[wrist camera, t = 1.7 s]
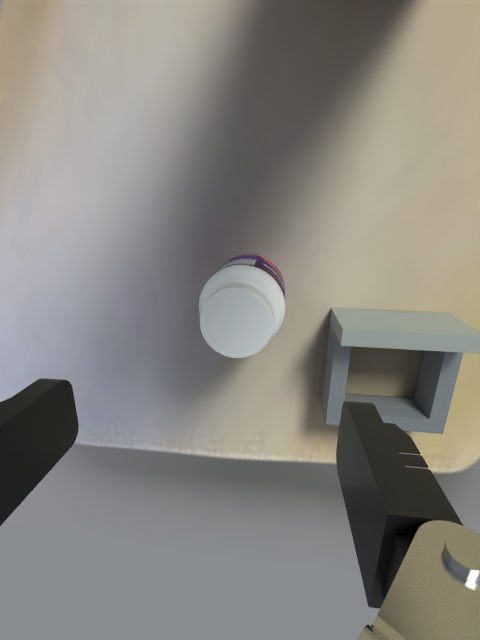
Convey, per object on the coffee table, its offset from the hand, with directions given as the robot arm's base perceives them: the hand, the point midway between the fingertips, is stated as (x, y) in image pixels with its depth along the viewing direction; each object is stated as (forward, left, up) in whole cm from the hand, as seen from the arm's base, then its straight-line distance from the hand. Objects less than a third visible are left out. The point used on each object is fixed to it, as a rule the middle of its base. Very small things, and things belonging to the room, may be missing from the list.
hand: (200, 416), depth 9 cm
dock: (+6, +11, -18) cm, 22 cm away
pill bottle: (0, 0, -18) cm, 18 cm away
